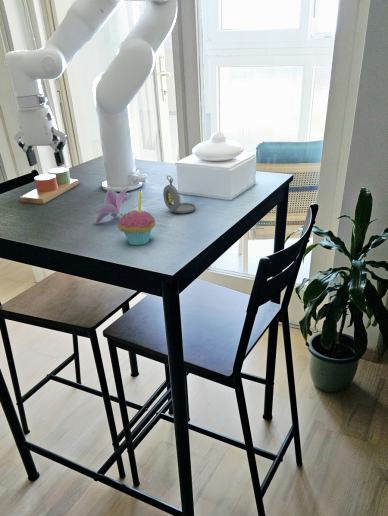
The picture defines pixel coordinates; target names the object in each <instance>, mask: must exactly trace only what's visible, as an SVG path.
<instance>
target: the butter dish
mask: <svg viewBox="0 0 388 516" xmlns="http://www.w3.org/2000/svg"><path fill="white" fill-rule="evenodd" d="M191 152H192V154H189V155H187V156H185V157H183V158H181V159H179V160H177V161H175V162H174V165H175V166H176V176H177V177H176V178H177V191H178V193H179V195H180V194H181V195H189V196H196V197H204V198H211V199H218V200H225V201H232V200H234V199H235V198H236V197H238V196H240V195H241V194H242V193H244V192H245V191H247V190H248V189H249V188H251V187H253V186H254V185H256V183H257V155H256V153H255V152H246V151H245V152H244V147H243V145H242V144H241V143H239V142H237V141H234V140H230V139H227V136H226V135H225V134H224V133H223V132H222V131H215V132H213V133H212V134H211V135H210V138H209V140H205V141H202V142H200V143H197V144H196V145H195V146H194V147H193V148H192V151H191Z"/></svg>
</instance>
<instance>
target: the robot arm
mask: <svg viewBox="0 0 388 516" xmlns="http://www.w3.org/2000/svg"><path fill="white" fill-rule="evenodd" d="M124 1H125V0H74V1H73V2H72V3H71V4H70V7H69V8H68V10H67V11H66V13H65V16H64V17H63V20H62V21H60V24H59V25H58V26H57V28H56V29H55V31H54V32H53V33H52V34H51V36H50V37H49V38H48V40H47V41H46V42H45V43H44V44H43V46H42V47H41V48H38V49H34V50H30V49H20V50H19V49H17V50H11V51H8V52H6V53H5V56H4V61H5V64H6V67H7V68H6V69H7V71H8V75H9V78H10V82H11V86H12V89H13V93H14V97H15V101H16V105H17V110H16V113H17V121H18V126H19V131H18V133H16V134H15V135H14V136H13V139H14V140H15V142H16V143H17V144H18V147H19V148H20V149H22V152H23V153H25V155H26V156H25V157H26V159H27V161H28V165H29V167H33V166H36V165H37V164H38V160H37V157H36V153H35V150H34V149H33V147H46V146H50V147H51V148H52V149H53V151H54V152H53V156H54V160H55V164H56V167H62V166H63V165H65V158H64V154H63V150H64V147H65V145H66V143H67V142H66V141H67V134H66V133H64V132H62V131H61V130H59V129H58V127H57V124H56V120H55V118H54V115H53V113H52V111H51V108H50V106H49V105H47V104H46V103H48V101H49V100H48V97H47V96H44V92H43V87H42V84H41V83H42V82H41V80H56V79H58V78H61V76H62V75H63V73H64V71H65V70H66V68H67V66H68V65H69V64H70V63H71V62H72V61H73V59H74V58H75V56H76V55H77V54H78V53H79V51H80V50H82V48H83V47H84V46H85V45H86V44H87V43H88V42H89V41H91V40H92V39H94V37H96V35H97V34H98V33H99V32H100V31H101V29H102V28H103V26H104V25H105V24H106V23H107V21H108V20H109V19H110V18H111V17H112V15H114V14H115V12H116V11H117V10H118V8H119V7H120V6H121V4H122V3H123V2H124ZM126 1H127V2H128V1H129V2H136V1H137V2H145V7H144V10H143V12H141V15H140V17H139V18H138V20H137V21H136V23H135V24H134V26H133V27H132V28H131V31H130V32H129V33H128V35H127V36H126V37H125V38H124V40H123V41H121V43H120V44H119V45H118V49H117V52H116V55H115V56H114V58H113V59H112V61H111V62H110V63H109V64H108V66H107V68H106V70H105V71H103V72H101V73H100V74H98V75H97V77H96V78H95V80H94V81H93V87H92V92H93V100H94V105H95V111H96V117H97V124H98V125H97V126H98V131H99V132H98V133H99V138H100V139H99V140H100V146H101V152H102V158H103V159H102V160H103V167H104V173H105V181H103V182H102V183H101V187H102V189H103V190H104V191H106V192H107V191H108V190H109V189H111V190H113V191H115V192H116V193H120V192H121V191H123V190H124V189H125V188H127V187H129V188H128V190H127V192H129V191H134V190H137V189H140V188H142V186H143V184H147V183H149V177H148V175H147V174H140V169H137V167H136V159H135V149H134V140H133V127H132V122H131V121H132V120H131V113H130V104H131V103H132V101H133V100H134V99H135V97H136V96H137V94H138V93H139V91H140V90H141V89H142V87H143V86H144V85H145V83H146V82H147V80H148V79H149V78H150V76H151V74H152V72H153V70H154V67H155V62H156V61H155V57H156V55H157V54H158V52H159V51H160V50H161V48H162V47H163V45H164V43H165V42H166V40H167V38H168V37H169V35H170V34H171V32H172V30H173V29H174V26H175V23H176V19H177V15H178V0H126Z"/></svg>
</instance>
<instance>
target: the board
mask: <svg viewBox="0 0 388 516" xmlns="http://www.w3.org/2000/svg"><path fill="white" fill-rule="evenodd" d="M70 179H71V181H70V182H69V183H66V184H61V185H58V189H56V190H54V191H49V192H39V191H37V189H36V188H35V189H33V190H31V191H29V192H27V193H25V194H23V195H21V196H20V197H19V199H20V200H19V201H20V203H26V204H27V203H28V204H42V205H44V204H46V203H48V202H50V201H51V200H53V199H55V198H57V197H59V196H61V195H62V194H65V193H66V192H68V191H69V190H71V189H72V188H75V187H76V186H78V185H79V184H80V183H79V179H76V178H70Z"/></svg>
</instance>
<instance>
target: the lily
mask: <svg viewBox="0 0 388 516" xmlns="http://www.w3.org/2000/svg"><path fill="white" fill-rule="evenodd" d="M128 188H129V187H127V188H125V189H124V190H123V191H121V192H115V191H113V190H111V189H109V190H108V191H106V192H105V196H104V200H103V201H104V204H103V205H102V206H100V207H99V208H98V209H97V210H95V211H94V214H98V215H97V217H96V220H95V222H94V224H95V225H97V224H98V223H100V222H101V221H102V220H103V219H104V218H106V217H107V216H109V215H110V216H111V217H112V218H115V219H116V218H117V217H118V214H119V215H120V216H121V217H122V216H123V214H122V213H121V209H122V205H123V204H124V203H125V202H127V201H128V200H130V199H131V198H132V195H131V194H130V195H129V194H126V193H127V192H128V191H127V190H128Z"/></svg>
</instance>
